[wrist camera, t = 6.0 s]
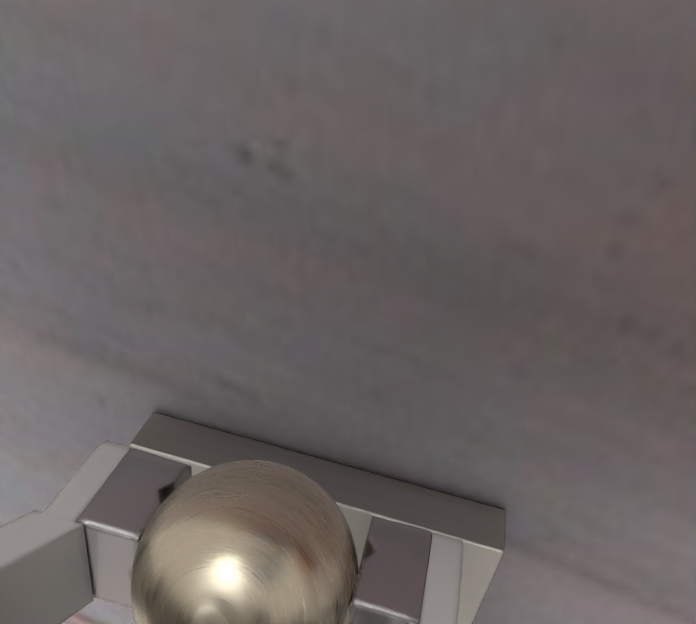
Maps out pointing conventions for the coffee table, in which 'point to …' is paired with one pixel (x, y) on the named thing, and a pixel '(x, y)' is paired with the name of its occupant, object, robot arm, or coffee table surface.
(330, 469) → the bracket
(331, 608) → the lever
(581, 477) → the coffee table surface
